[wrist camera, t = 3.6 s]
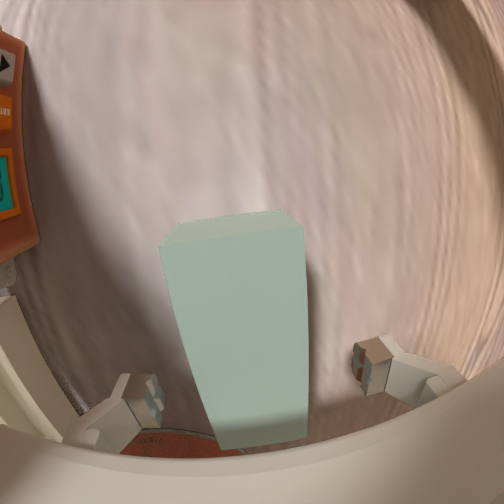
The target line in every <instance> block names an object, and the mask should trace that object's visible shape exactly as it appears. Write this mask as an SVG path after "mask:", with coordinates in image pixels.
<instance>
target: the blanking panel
mask: <svg viewBox="0 0 504 504" xmlns="http://www.w3.org/2000/svg"><path fill="white" fill-rule="evenodd" d="M158 247H159V252H160V257H161V261H162V266H163V270H164V275H165V279H166V283H167V287H168V291H169V295H170V299H171V303H172V307H173V311H174V314H175V318H176V322H177V325H178V329H179V332H180V336H181V339H182V342H183V346H184V349H185V352H186V355H187V359H188V362H189V365H190V368H191V371H192V374H193V377H194V380H195V383H196V386H197V389H198V392H199V394H200V397H201V400H202V403H203V405H204V408H205V411H206V413H207V416H208V419H209V421H210V424H211V426H212V429H213V431H214V434H215V436H216V439H217V441H218V444H219V446H220V448H221V450H229V449H240V448H249V447H257V446H264V445H271V444H277V443H283V442H289V441H294V440H299V439H303V438H307V428H308V390H309V341H308V301H307V277H306V258H305V242H304V228H303V225H301V224H300V223H299V222H297V221H296V220H295V219H293V218H292V217H290V216H289V215H288V214H286V213H285V212H284V211H282V210H281V209H277V210H269V211H261V212H253V213H246V214H238V215H231V216H224V217H217V218H210V219H203V220H197V221H190V222H184V223H178V224H177V225H176V226H175V228H174V229H173V230H172V231H171V232H170V233H169V234H168V235H167V237H166V238H165V239H164V240H163V241H162V242H161V244H160V245H159V246H158Z"/></svg>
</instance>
